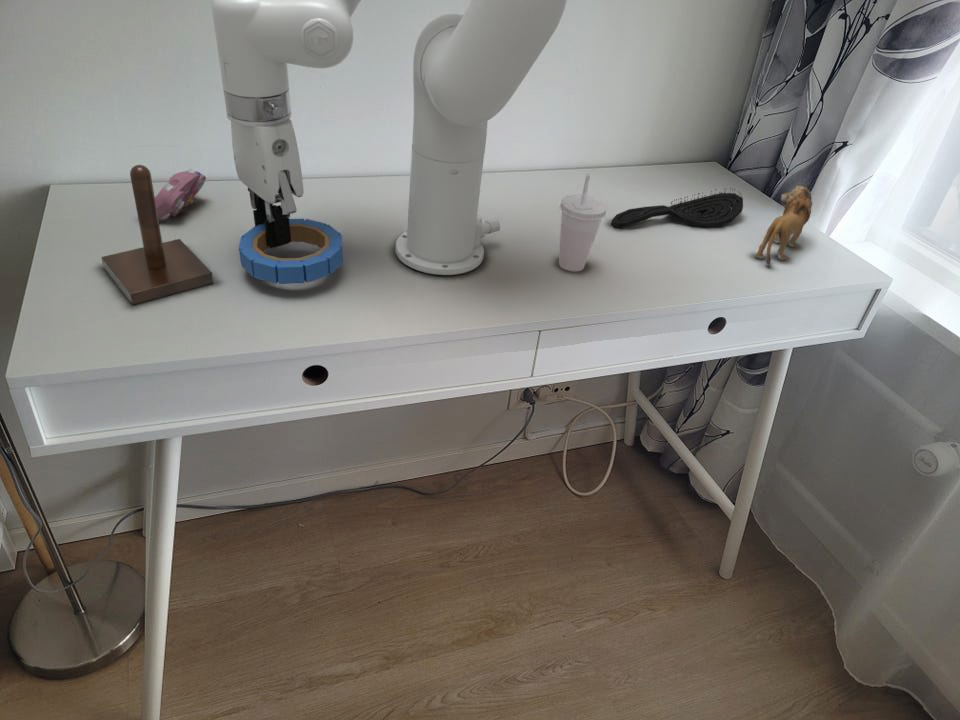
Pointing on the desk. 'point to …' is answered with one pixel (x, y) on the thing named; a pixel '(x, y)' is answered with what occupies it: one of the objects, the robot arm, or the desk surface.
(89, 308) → the desk surface
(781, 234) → the lion figurine
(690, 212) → the hairbrush
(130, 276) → the stand
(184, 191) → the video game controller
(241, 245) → the tape roll
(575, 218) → the smoothie
